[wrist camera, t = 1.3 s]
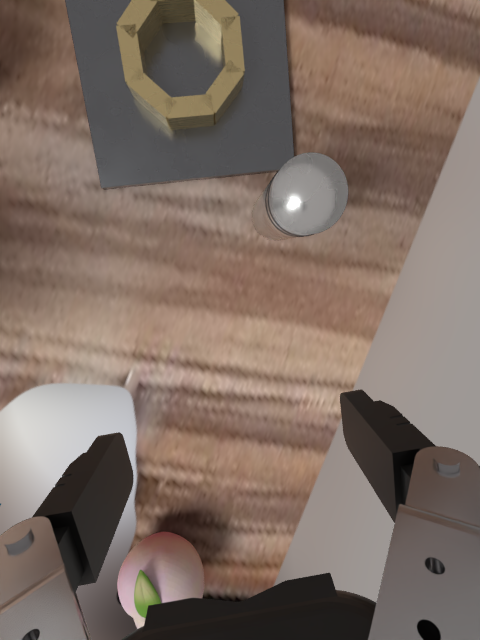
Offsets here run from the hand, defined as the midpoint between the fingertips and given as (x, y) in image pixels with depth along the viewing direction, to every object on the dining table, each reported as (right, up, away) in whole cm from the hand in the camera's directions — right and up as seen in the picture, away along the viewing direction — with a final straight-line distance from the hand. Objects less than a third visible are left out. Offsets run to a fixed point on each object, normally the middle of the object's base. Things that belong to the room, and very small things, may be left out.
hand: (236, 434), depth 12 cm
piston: (+4, +14, +20) cm, 25 cm away
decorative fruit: (-8, -22, +27) cm, 36 cm away
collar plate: (-5, +26, +17) cm, 32 cm away
